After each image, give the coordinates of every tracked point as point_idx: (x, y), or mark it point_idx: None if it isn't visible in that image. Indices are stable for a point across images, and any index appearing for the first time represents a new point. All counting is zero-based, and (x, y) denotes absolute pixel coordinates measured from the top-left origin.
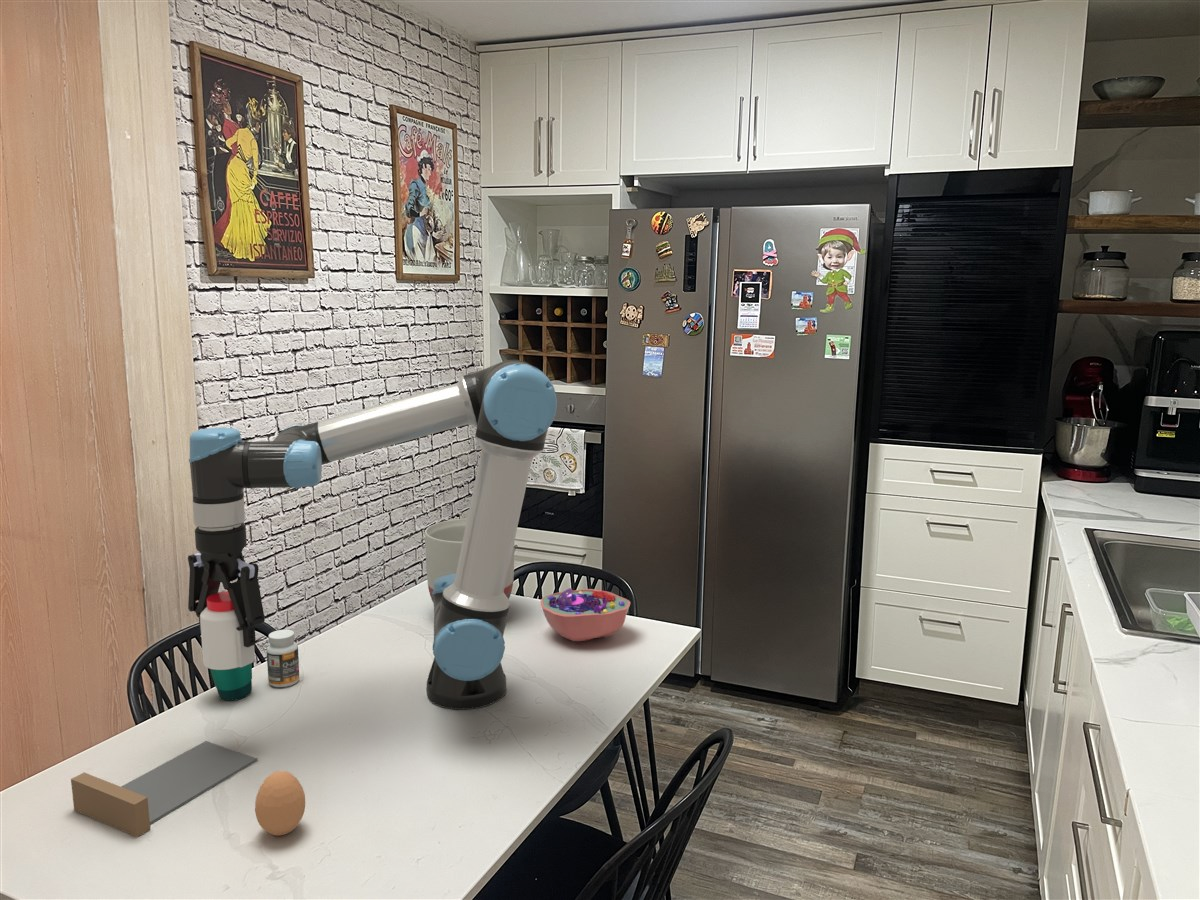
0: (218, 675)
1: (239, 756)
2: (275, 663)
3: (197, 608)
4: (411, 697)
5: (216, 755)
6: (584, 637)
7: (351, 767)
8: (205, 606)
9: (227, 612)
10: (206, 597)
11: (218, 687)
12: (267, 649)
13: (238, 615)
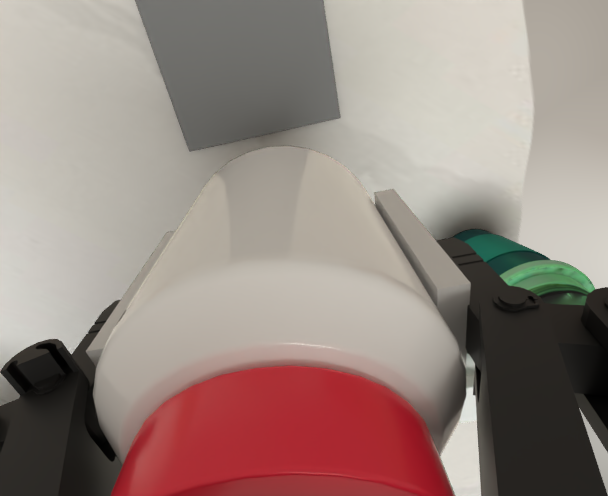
0: (492, 248)
1: (222, 130)
2: None
3: (545, 331)
4: None
5: (263, 100)
6: None
7: (50, 246)
8: (484, 379)
9: (120, 428)
10: (494, 479)
11: (485, 235)
12: (472, 359)
13: (38, 445)
